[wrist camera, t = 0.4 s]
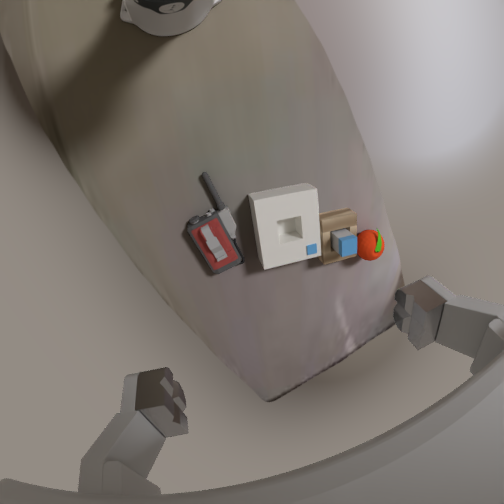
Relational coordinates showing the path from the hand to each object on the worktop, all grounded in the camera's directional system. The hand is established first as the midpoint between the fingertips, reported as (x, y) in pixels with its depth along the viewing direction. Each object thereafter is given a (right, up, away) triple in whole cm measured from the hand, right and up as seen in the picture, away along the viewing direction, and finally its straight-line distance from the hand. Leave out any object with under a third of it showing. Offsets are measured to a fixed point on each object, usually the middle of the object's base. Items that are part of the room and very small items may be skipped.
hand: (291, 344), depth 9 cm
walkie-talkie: (-9, +8, +47) cm, 49 cm away
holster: (+16, +7, +53) cm, 56 cm away
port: (+5, +9, +49) cm, 50 cm away
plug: (+16, +7, +52) cm, 55 cm away
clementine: (+24, +7, +55) cm, 61 cm away
